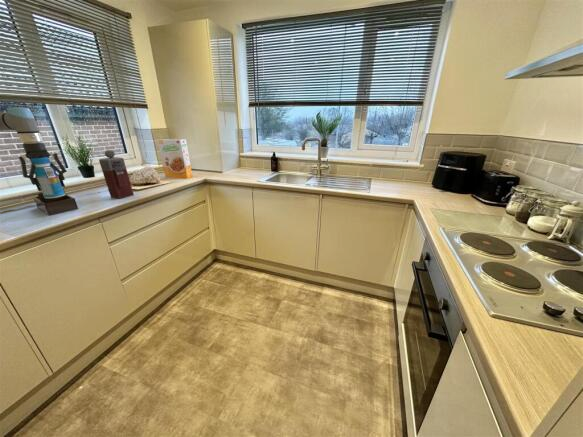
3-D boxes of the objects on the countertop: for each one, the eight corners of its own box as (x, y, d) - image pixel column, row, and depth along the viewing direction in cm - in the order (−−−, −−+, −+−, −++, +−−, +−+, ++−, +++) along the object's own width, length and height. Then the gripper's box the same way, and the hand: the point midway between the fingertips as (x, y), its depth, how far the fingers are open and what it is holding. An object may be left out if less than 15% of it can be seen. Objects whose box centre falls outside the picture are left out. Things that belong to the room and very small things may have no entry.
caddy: (37, 207, 132) (30, 191, 129) (65, 201, 141) (58, 186, 138) (49, 215, 120) (41, 197, 116) (78, 208, 129) (71, 191, 125)
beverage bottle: (42, 200, 119) (24, 159, 112) (46, 196, 126) (30, 157, 118) (64, 197, 123) (48, 157, 116) (67, 193, 130) (52, 155, 122)
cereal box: (165, 177, 200) (157, 139, 189) (171, 175, 206) (163, 139, 195) (187, 178, 194) (180, 139, 182) (192, 176, 199) (185, 139, 188)
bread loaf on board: (151, 179, 192) (154, 162, 184) (169, 194, 189) (174, 177, 181) (114, 186, 168) (117, 166, 160) (135, 203, 165) (139, 184, 157)
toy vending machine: (122, 199, 144) (107, 151, 133) (110, 197, 148) (95, 150, 137) (136, 195, 151) (123, 149, 141) (124, 193, 155) (111, 149, 145)
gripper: (1, 145, 104) (24, 194, 113) (63, 141, 120) (80, 185, 129) (-2, 144, 108) (21, 192, 117) (59, 140, 124) (75, 183, 133)
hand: (52, 188), depth 123 cm, fingers closed on beverage bottle, 8 cm apart
